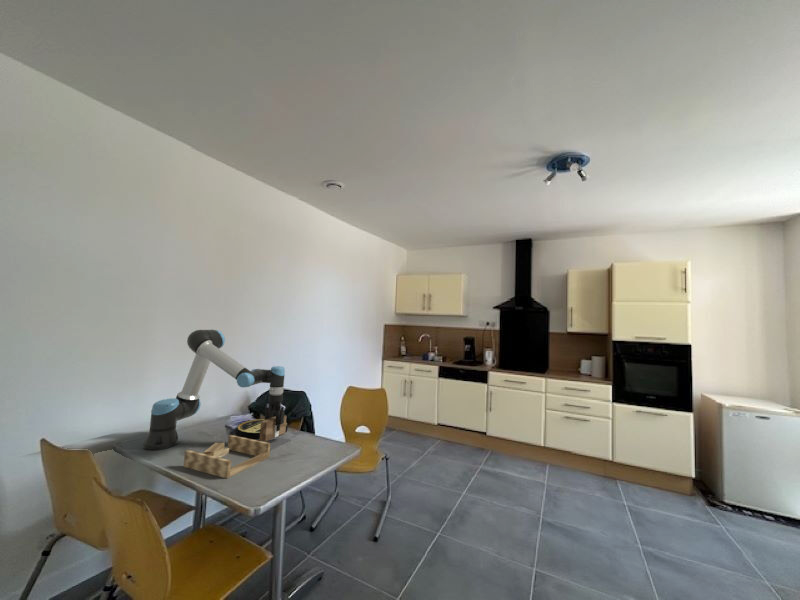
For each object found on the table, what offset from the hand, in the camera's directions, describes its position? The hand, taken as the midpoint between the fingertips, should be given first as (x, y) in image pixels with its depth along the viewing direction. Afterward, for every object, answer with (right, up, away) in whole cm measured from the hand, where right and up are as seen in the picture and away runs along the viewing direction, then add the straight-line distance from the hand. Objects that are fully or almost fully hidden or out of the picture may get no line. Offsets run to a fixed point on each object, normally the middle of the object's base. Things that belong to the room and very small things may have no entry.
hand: (272, 435), depth 179 cm
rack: (-11, -2, -25) cm, 28 cm away
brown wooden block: (0, 0, 0) cm, 0 cm away
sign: (-15, -7, +21) cm, 26 cm away
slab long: (-21, -2, -22) cm, 31 cm away
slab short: (-21, +1, -22) cm, 30 cm away
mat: (0, -5, 0) cm, 5 cm away
